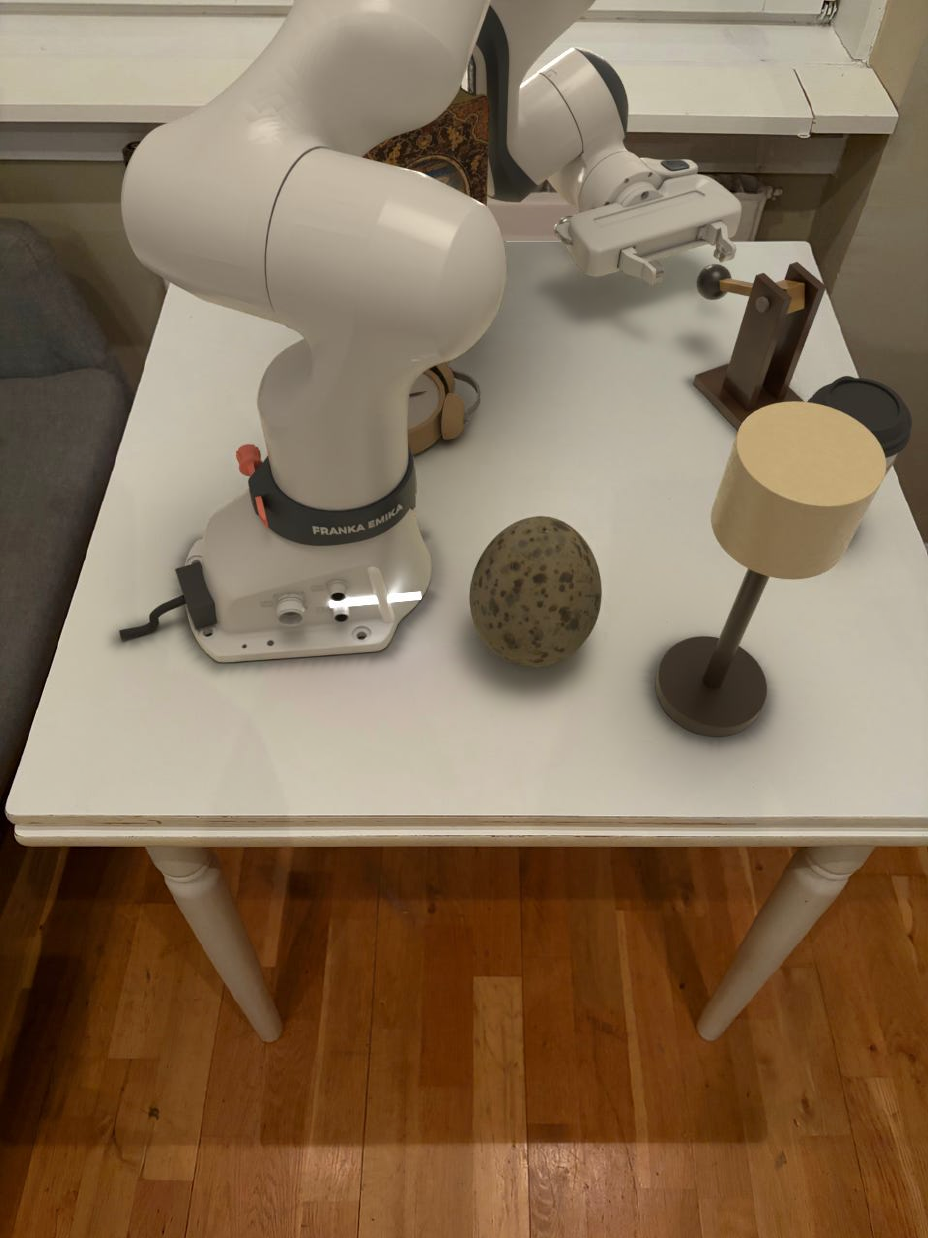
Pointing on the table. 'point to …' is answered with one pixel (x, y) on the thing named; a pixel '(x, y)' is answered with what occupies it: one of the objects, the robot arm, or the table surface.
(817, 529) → the lamp
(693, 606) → the table surface
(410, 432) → the alarm clock
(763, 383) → the switch block
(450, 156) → the book
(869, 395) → the coffee cup
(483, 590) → the decorative egg
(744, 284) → the lever
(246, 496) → the robot arm
